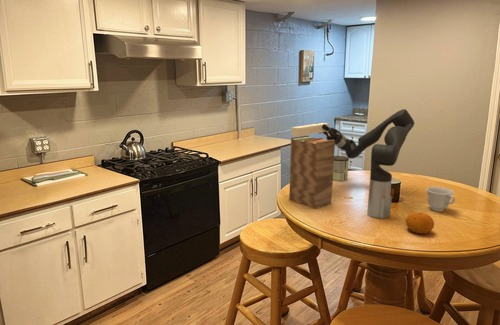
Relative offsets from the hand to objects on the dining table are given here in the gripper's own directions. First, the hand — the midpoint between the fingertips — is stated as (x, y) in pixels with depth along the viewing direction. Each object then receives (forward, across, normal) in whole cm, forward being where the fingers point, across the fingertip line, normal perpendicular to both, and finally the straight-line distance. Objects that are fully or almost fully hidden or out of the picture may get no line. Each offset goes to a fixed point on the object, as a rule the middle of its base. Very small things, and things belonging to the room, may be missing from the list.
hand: (319, 125), depth 185 cm
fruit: (-17, -57, -34) cm, 69 cm away
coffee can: (-50, +12, -16) cm, 54 cm away
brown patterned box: (-10, -4, -38) cm, 40 cm away
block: (+4, 0, -6) cm, 7 cm away
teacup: (-44, -52, -19) cm, 71 cm away
